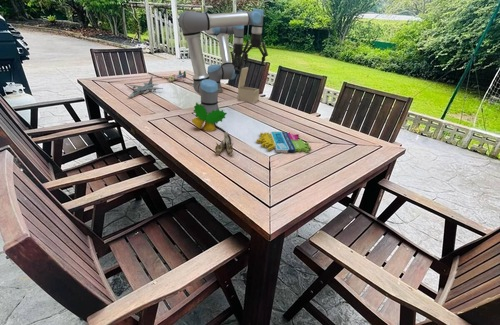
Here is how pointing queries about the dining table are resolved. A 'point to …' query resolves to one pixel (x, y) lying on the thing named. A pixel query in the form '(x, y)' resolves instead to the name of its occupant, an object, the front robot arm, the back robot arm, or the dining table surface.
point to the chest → (248, 94)
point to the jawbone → (224, 145)
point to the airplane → (143, 88)
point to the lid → (242, 76)
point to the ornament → (207, 117)
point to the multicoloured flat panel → (283, 142)
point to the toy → (176, 77)
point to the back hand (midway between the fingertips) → (237, 73)
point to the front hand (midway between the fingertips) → (254, 64)
